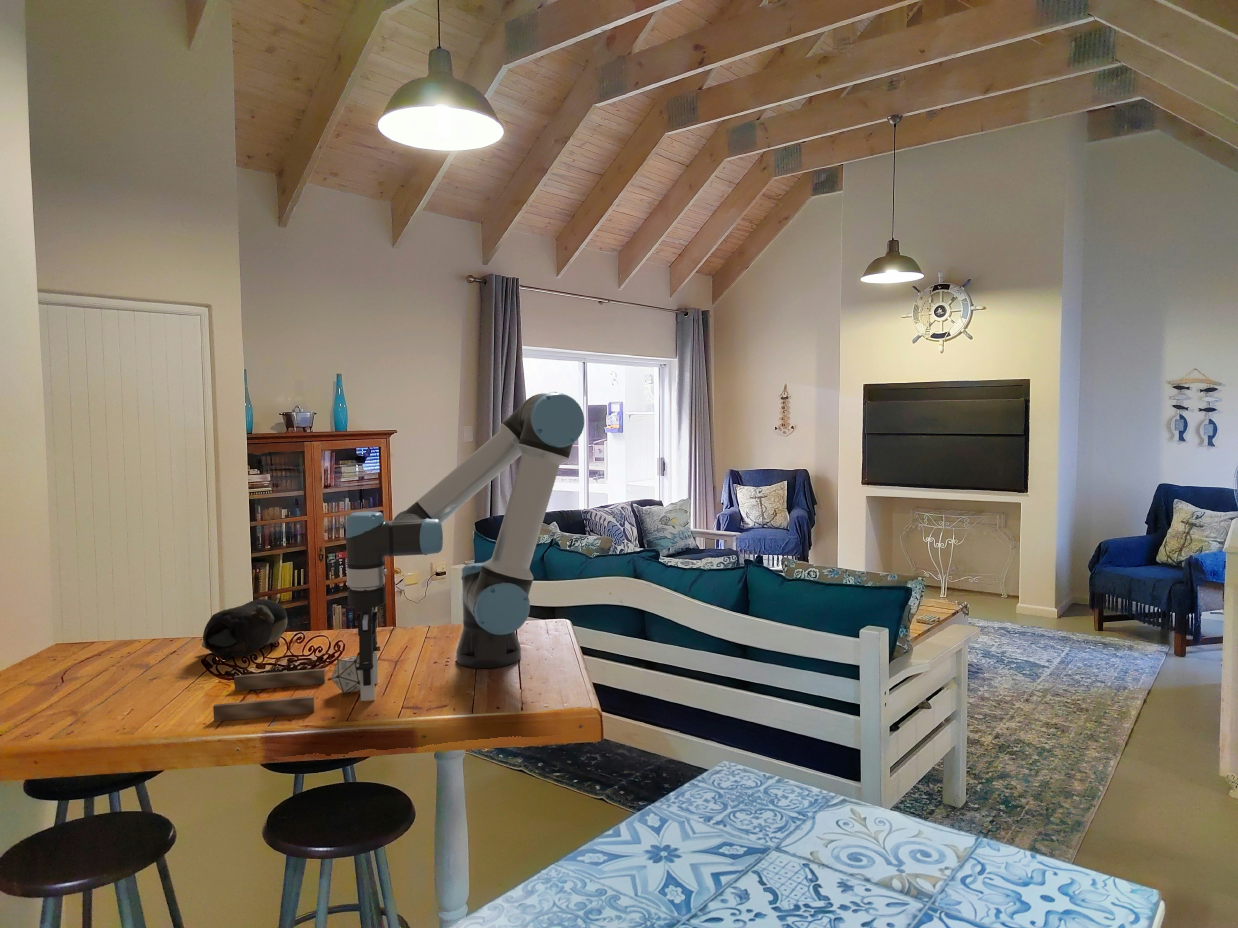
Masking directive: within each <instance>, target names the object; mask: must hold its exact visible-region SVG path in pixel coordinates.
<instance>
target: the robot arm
mask: <svg viewBox="0 0 1238 928" xmlns="http://www.w3.org/2000/svg"><path fill="white" fill-rule="evenodd" d="M584 415H585V414H584V412H583V409H582V407H581V405H580V404H579V403H578V402H577V401H576V399H574V398H573V397H571V396H570V395H568V394H565V393H561V392H557V391H550V392H545V393H543V392H542V393H537V394H534V395H532V396H530V397H529V398H527V399H526V400H525V401H524V402H523V403H521V404H520V405H519V407H517V409H516V410H514V412H513V413H512V414H510V416H509V417H507V418H506V419H505V420H504V421H503V422H502V423H501V424H500V425H499V431H498V432H497V433H496V434H494V435H492V437H491V438H489V439H488V440H487V441H486V442H485V443H484V444H483V445H481V446H480V447H478V449H476V450H475V451H474V452H473V453H471V455H469V456H468V457H467V458H466V459H465V460H463V461H462V462H461V463H460V464H458V465H457V467H455V468H454V469H453V470H452V471H451V472H449V473H448V474H446V476H444V477H443V478H442V479H441V480H440V481H439V482H437V483H436V484H435V485H434V486H433V487H432V488H430V489H429V490H428V491H427V492H426V493H424V494H423V495H422V496H420V498H419V499H417V500H416V501H415V502H414V503H413V504H412V505H410V506H408V508H407V509H406V510H402V511H400V512H399V513H397V515H395V517H394V518H393V520H385V518H384V514H383V512H380V511H357V512H353V513H350V514H349V515H348V516H347V517H346V518H345V519H346V521H345V546H346V547H345V548H346V585H347V587H348V589H347V605H348V607H350V608H353V609H359V610H360V612H357V616H356V623H357V635H358V640H359V641H358V652H359V667H356V670H360V689H359V691H360V701H361V702H362V701H374V700H375V699H376V695H375V694H376V693H375V692H376V691H375V689H376V687H375V685H376V684H378V683H379V674H378V673H379V672H378V669H379V668H378V667H379V666H378V652H381V646H379V645H378V643H379V642H378V640H377V639H378V637H377V628H378V618H379V617H378V616H379V614H378V613H379V612H378V611H376V609H377V607H378V608H379V607H381V606H384V605H385V604H386V601H387V599H386V595H387V593H386V587H385V585H384V584H385V583H386V575H387V574H388V573H389V571H388V569H386V568H385V564H386V563H385V558H386V557H387V558H388V557H389V558H390V557H401V556H402V557H403V556H422V555H423V556H427V555H435V554H438V553H440V552H442V550H443V544H444V541H443V540H444V536H443V535H444V534H443V525H442V523H443V522H444V521H446V520H447V519H448V518H450V517H451V516H452V514H454V513H455V512H456V511H457V510H459V509H460V508H462V506H463V505H464V504H466V503H467V502H468V501H469V500H470V499H472V498H473V497H474V496H476V494H477V493H479V492H480V491H481V490H482V489H483V488H485V486H487V485H488V484H489V483H490V482H491V481H493V480H494V479H495V478H496V477H497V476H498V475H499V474H500V473H502V472H503V471H504V470H505V469H506V468H508V467H509V466H510V465H511V464H513V462H515V461H516V460H517V459H518V458H520V457H521V458H520V461H519V464H518V467H517V471H516V474H515V477H514V478H515V479H514V481H513V484H512V488H511V493H510V495H509V498H508V501H507V505H506V509H505V513H504V516H503V519H502V522H501V525H500V529H499V533H498V535H497V539H496V542H495V544H494V545H495V547H494V549H493V553H492V556H491V558H490V559H487V560H486V561H484V562H476V563H474V562H473V563H469V564H465V565H464V566H463V568H462V571H461V572H462V574H461V577H460V579H461V580H462V619H463V621H462V622H463V625H462V626H463V627H462V632H461V634H460V639H459V642H458V645H457V648H456V662H457V664H458V665H460V666H464V667H467V668H470V669H471V668H473V669H492V668H493V669H494V668H501V667H505V666H510V665H512V664H515V663H516V662H518V661H520V659H521V657H522V652H521V651H522V650H521V649H522V647H521V644H520V642H519V639H518V636H517V633H516V631H517V630H519V629H520V628H521V627H522V626H523V625H524V624H525V623H526V621H527V620H528V617H529V614H530V611H531V610H530V609H531V604H530V603H531V602H530V598H529V595H530V593H531V592H530V591H531V587H532V584H533V581H534V575H533V573H532V572H531V569H530V567H531V563H532V562H533V561H532V560H533V557H534V554H535V553H534V552H535V550H536V548H537V543H538V541H539V540H538V539H539V536H540V533H541V530H542V527H543V526H542V525H543V522H544V519H545V516H546V513H547V509H548V506H549V504H550V503H549V502H550V499H551V496H552V492H553V488H554V486H555V482H556V478H557V475H558V472H559V469H560V466H561V464H563V463H565V462H566V461H568V460H569V459H570V456H571V452H572V449H573V444H574V443H575V442H577V440H579V438H580V437H581V435H582V433H583V431H584V427H585V416H584ZM384 568H385V569H384Z"/></svg>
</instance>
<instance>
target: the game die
mask: <svg viewBox="0 0 1238 928" xmlns="http://www.w3.org/2000/svg"><path fill="white" fill-rule="evenodd" d="M334 658H335V660H336V665H335V667H334V669H333V672H332V675H331V677H329V678H328V679H326V680H327V681H328V682H329V681H332V682H333V683H334V684H335V685H336V687H337V688H339V690H340V691H341V692H342V693H341V698H343V697H344V696H345V694H346V693H352V692H355V691H360V670H356V667H359V651H358V652H357V653H356V655H355V656H354V655H353V656H350V657H344V658H339V657H338V656H335V657H334Z"/></svg>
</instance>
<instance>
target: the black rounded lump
mask: <svg viewBox="0 0 1238 928" xmlns="http://www.w3.org/2000/svg"><path fill="white" fill-rule="evenodd" d="M287 625H288V614H287V611H286V609H285V608H284V606H283V605H281V604H280V603H278V602H276V601H274V600H271V599H266V598H257V599H253V600H251V601H249V602H247V603H244V604H243V605H239V606H238V605H237V606H236V607H231V608H227V609H223V610H220V611H218V612H215V613H214V614H212V615H211V616H210V618H209V620H208V621H207V623H206V625H205V627H204V630H203V635H202V642H201V647H202V648H204V649H206V650H208V651H209V652H211V653H212V654H213V655H214V659H215V658H216V657H220V658H221V659H222V660H227V661H228V659H229V658H233V657H248V656H251V655H253V654H254V653H255V652H257V651H259V650H260V649H261V648H262V647H264V646H267V645H268V646H269V645H270V644H271V643H272V644H274V643H277V642H279V641H280V639H281V637H282V636H283V635H284V633H285V631H286V629H287ZM232 656H233V657H232Z"/></svg>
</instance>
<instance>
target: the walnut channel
mask: <svg viewBox="0 0 1238 928" xmlns="http://www.w3.org/2000/svg"><path fill="white" fill-rule="evenodd" d="M325 670H326V669H325V668H314V669H313V668H312V669H303V670H292V671H291V670H289V671H277V672H275V671H274V672H264V673H253V674H252V673H251V674H241V675H234V676H233V679H234V681H233V682H234V692H240V691H250V690H252V691H253V690H261V689H262V690H263V689H264V690H265V689H275V688H286V687H288V688H289V687H298V686H299V687H300V686H310V685H312V686H313V685H321V684H323V685H324V684H325V683H326V673H325V672H326V671H325ZM212 708H213V709H212V710H213V722H214V723H215V722H224V721H235V720H247V719H257V718H269V717H278V716H289V715H299V714H310V713H315V696H314V695H307V696H295V697H285V698H284V697H283V698H274V699H273V698H272V699H263V700H251V701H237V702H228V703H217V704H216V703H215V704H214V705H213V706H212Z"/></svg>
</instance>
